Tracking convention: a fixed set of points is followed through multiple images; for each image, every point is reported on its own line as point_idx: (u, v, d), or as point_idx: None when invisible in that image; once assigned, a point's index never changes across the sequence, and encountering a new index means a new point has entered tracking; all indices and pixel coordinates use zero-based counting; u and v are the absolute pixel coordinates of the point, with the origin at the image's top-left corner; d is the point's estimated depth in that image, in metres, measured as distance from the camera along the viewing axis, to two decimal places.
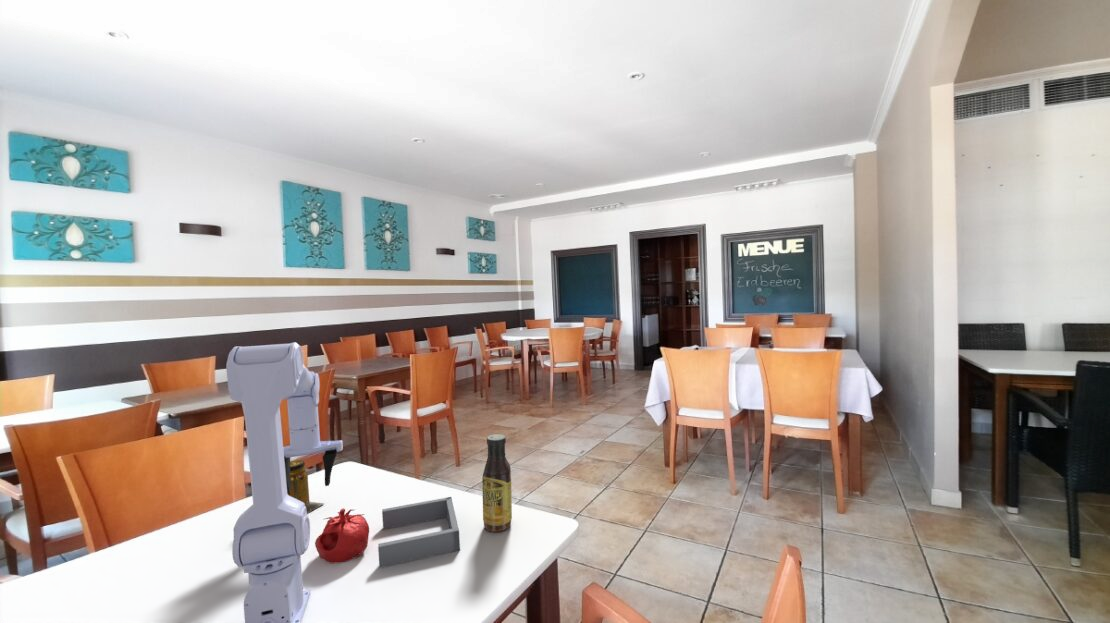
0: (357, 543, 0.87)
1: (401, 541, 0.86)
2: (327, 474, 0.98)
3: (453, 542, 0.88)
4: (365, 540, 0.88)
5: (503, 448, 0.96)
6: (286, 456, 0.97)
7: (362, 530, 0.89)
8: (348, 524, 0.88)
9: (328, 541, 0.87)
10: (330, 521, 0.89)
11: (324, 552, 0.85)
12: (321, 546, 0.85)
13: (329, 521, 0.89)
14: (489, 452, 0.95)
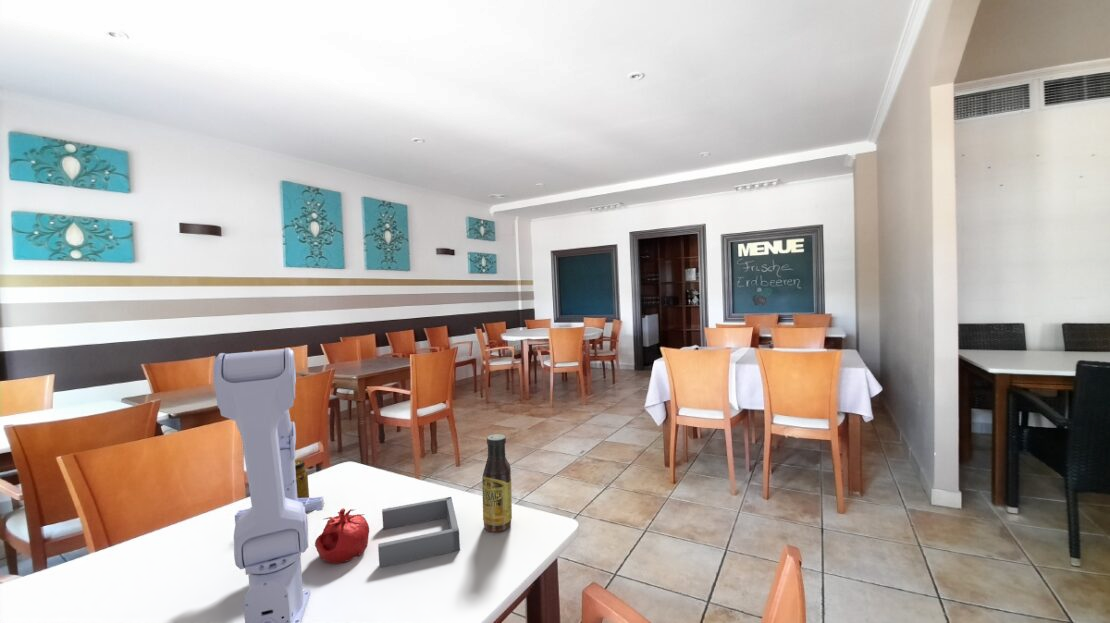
0: (357, 543, 0.87)
1: (401, 541, 0.86)
2: None
3: (453, 542, 0.88)
4: (365, 540, 0.88)
5: (503, 448, 0.96)
6: None
7: (362, 530, 0.89)
8: (348, 524, 0.88)
9: (328, 541, 0.87)
10: (330, 521, 0.89)
11: (324, 552, 0.85)
12: (321, 546, 0.85)
13: (329, 521, 0.89)
14: (489, 452, 0.95)
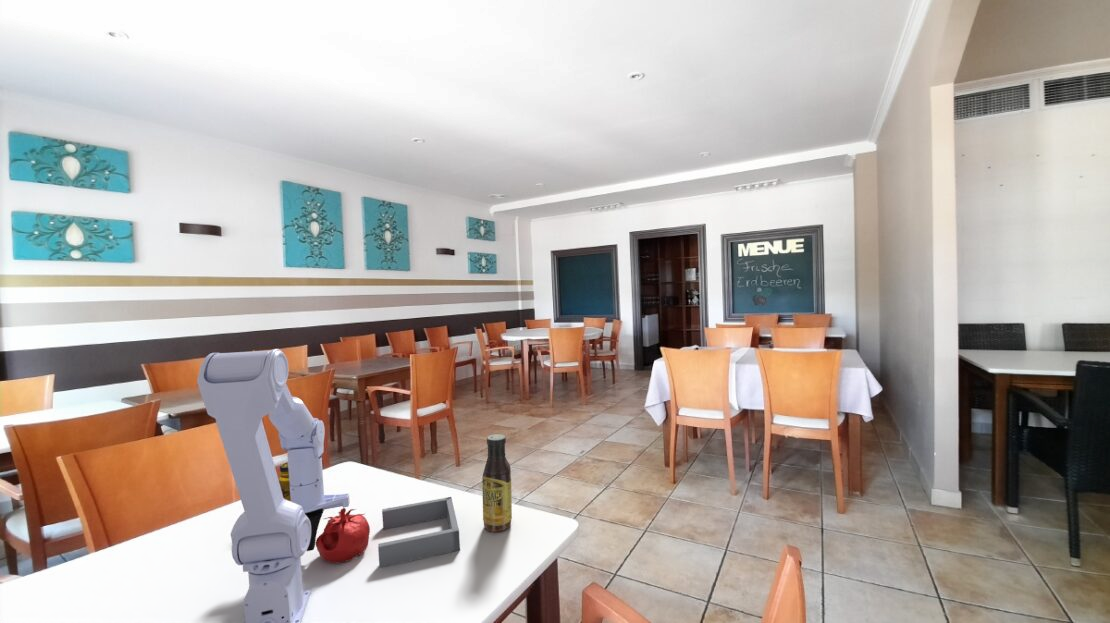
0: (358, 543, 0.87)
1: (401, 541, 0.86)
2: (311, 537, 0.86)
3: (453, 542, 0.88)
4: (366, 540, 0.88)
5: (503, 448, 0.96)
6: None
7: (362, 529, 0.89)
8: (349, 524, 0.88)
9: (329, 541, 0.87)
10: (331, 521, 0.89)
11: (325, 552, 0.85)
12: (322, 546, 0.85)
13: (330, 521, 0.90)
14: (489, 452, 0.95)
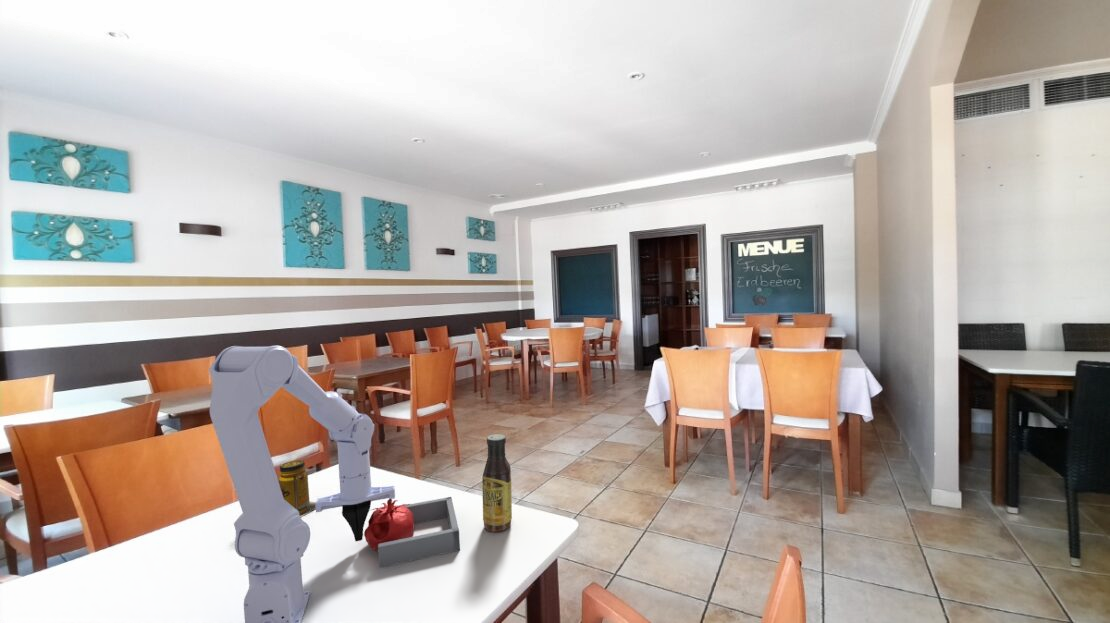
0: (406, 531, 0.90)
1: (401, 541, 0.86)
2: (360, 528, 0.89)
3: (453, 542, 0.88)
4: (412, 528, 0.92)
5: (503, 448, 0.96)
6: None
7: (409, 518, 0.92)
8: (396, 514, 0.91)
9: (377, 530, 0.90)
10: (377, 512, 0.92)
11: (376, 541, 0.88)
12: (372, 535, 0.88)
13: (376, 512, 0.92)
14: (489, 452, 0.95)
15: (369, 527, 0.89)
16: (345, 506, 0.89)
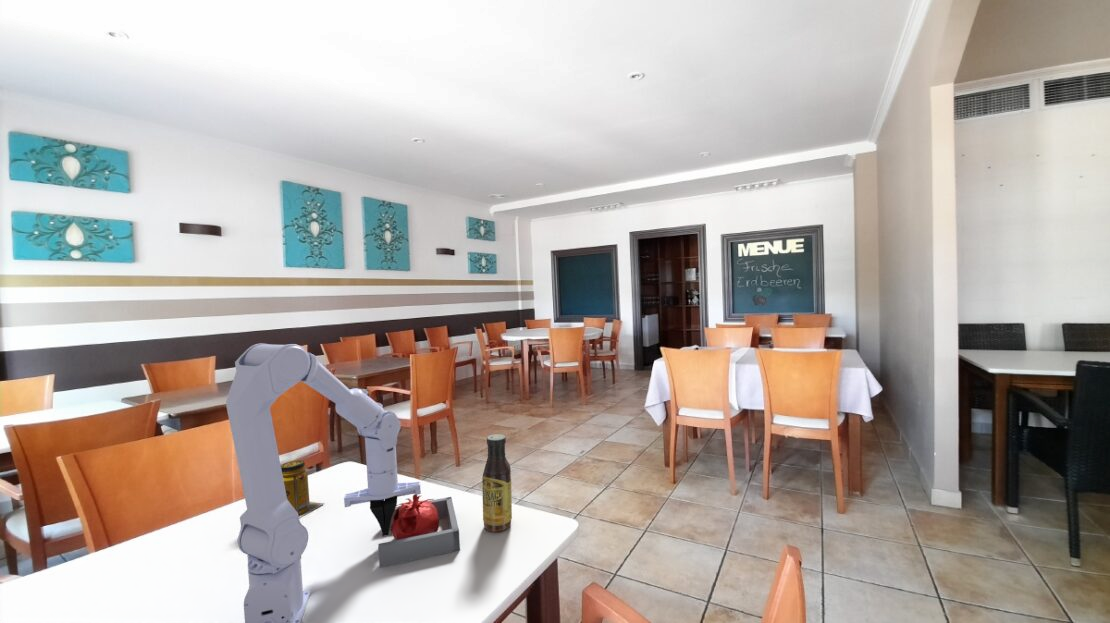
0: (433, 525, 0.92)
1: (401, 541, 0.86)
2: (387, 523, 0.91)
3: (453, 542, 0.88)
4: (438, 522, 0.94)
5: (503, 448, 0.96)
6: None
7: (434, 513, 0.94)
8: (422, 508, 0.93)
9: (404, 525, 0.92)
10: (402, 507, 0.94)
11: (404, 535, 0.89)
12: (400, 530, 0.90)
13: (401, 507, 0.94)
14: (489, 452, 0.95)
15: (396, 522, 0.91)
16: (373, 501, 0.90)
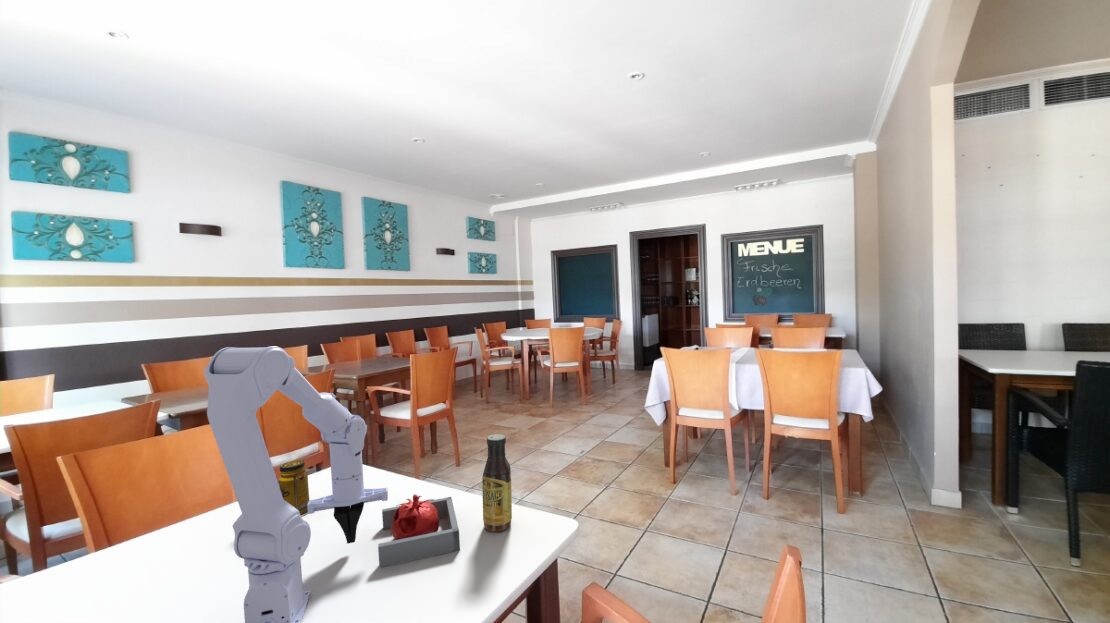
0: (433, 526, 0.92)
1: (401, 541, 0.86)
2: (353, 530, 0.89)
3: (453, 542, 0.88)
4: (438, 523, 0.94)
5: (503, 448, 0.96)
6: None
7: (434, 513, 0.94)
8: (422, 509, 0.93)
9: (404, 525, 0.92)
10: (402, 507, 0.94)
11: (404, 535, 0.89)
12: (400, 530, 0.90)
13: (401, 507, 0.94)
14: (489, 452, 0.95)
15: (396, 522, 0.91)
16: (337, 507, 0.88)
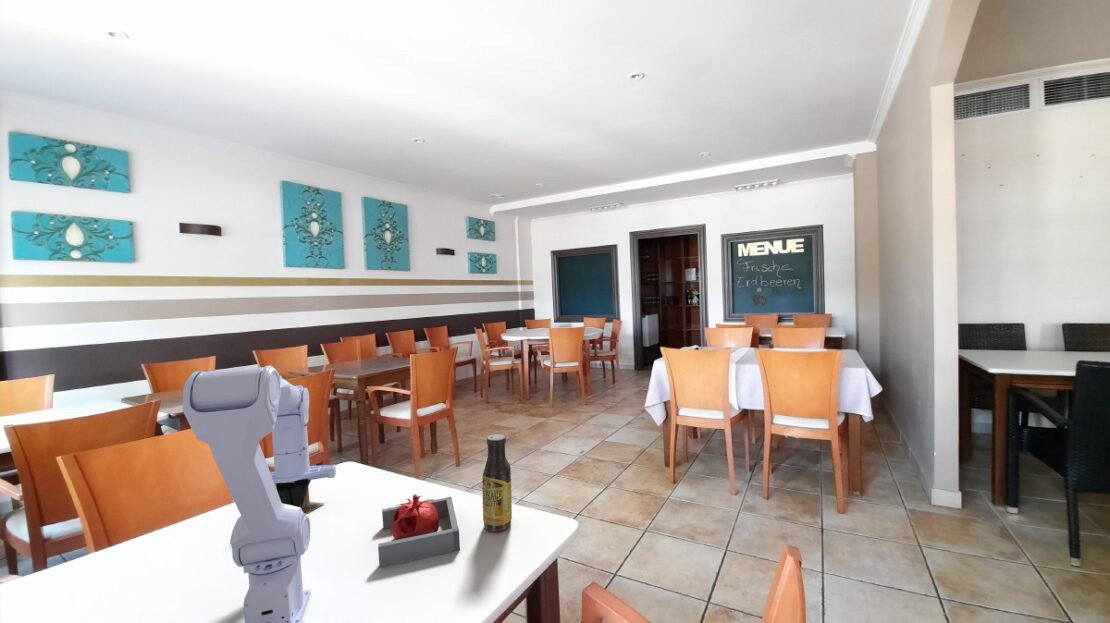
0: (433, 526, 0.92)
1: (401, 541, 0.86)
2: None
3: (453, 542, 0.88)
4: (438, 523, 0.94)
5: (503, 448, 0.96)
6: None
7: (434, 513, 0.94)
8: (422, 509, 0.93)
9: (404, 525, 0.92)
10: (402, 507, 0.94)
11: (404, 535, 0.89)
12: (400, 530, 0.90)
13: (401, 507, 0.94)
14: (489, 452, 0.95)
15: (396, 522, 0.91)
16: (279, 484, 0.83)
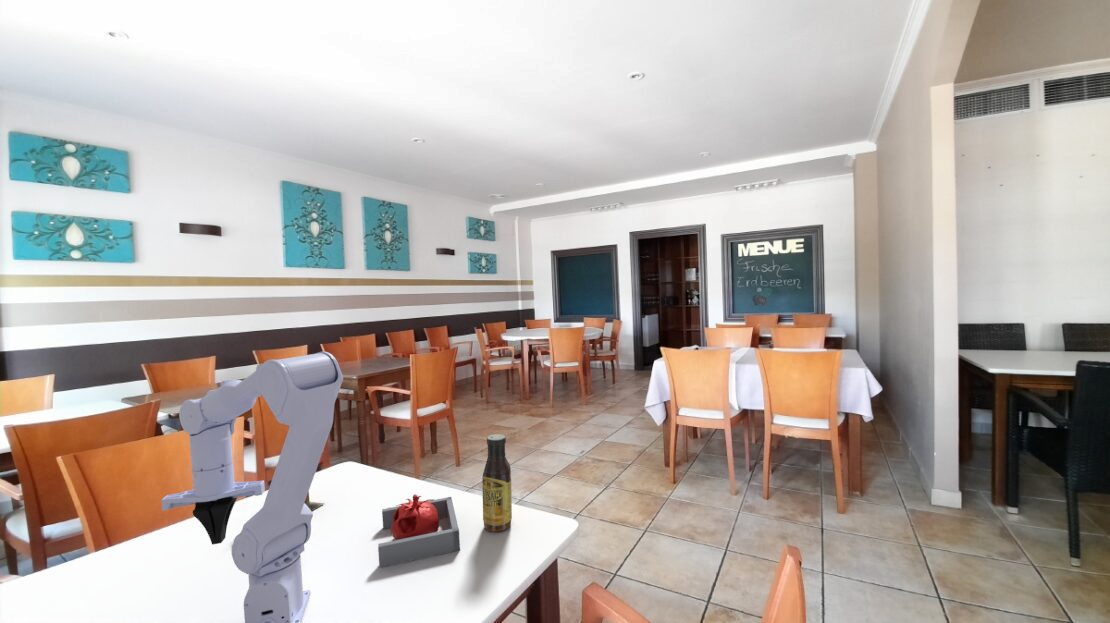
0: (433, 526, 0.92)
1: (401, 541, 0.86)
2: (218, 529, 0.77)
3: (453, 542, 0.88)
4: (438, 523, 0.94)
5: (503, 447, 0.96)
6: (213, 499, 0.78)
7: (434, 513, 0.94)
8: (422, 509, 0.93)
9: (404, 525, 0.92)
10: (402, 507, 0.94)
11: (404, 535, 0.89)
12: (400, 530, 0.90)
13: (401, 507, 0.94)
14: (489, 452, 0.95)
15: (396, 522, 0.91)
16: (199, 503, 0.77)
